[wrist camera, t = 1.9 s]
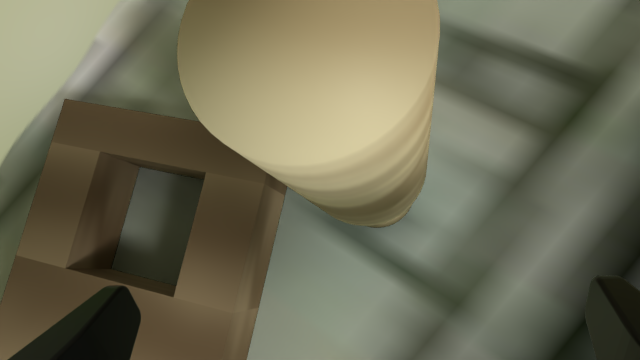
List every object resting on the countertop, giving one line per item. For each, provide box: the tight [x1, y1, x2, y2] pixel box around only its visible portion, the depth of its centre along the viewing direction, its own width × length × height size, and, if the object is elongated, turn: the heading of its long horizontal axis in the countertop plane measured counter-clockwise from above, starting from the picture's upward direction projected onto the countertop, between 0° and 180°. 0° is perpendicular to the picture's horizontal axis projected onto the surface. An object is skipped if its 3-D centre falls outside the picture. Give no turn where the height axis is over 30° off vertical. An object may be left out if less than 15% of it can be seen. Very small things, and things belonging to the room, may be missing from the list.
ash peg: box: [177, 0, 440, 228], centre depth 14 cm, size 4×4×14 cm
